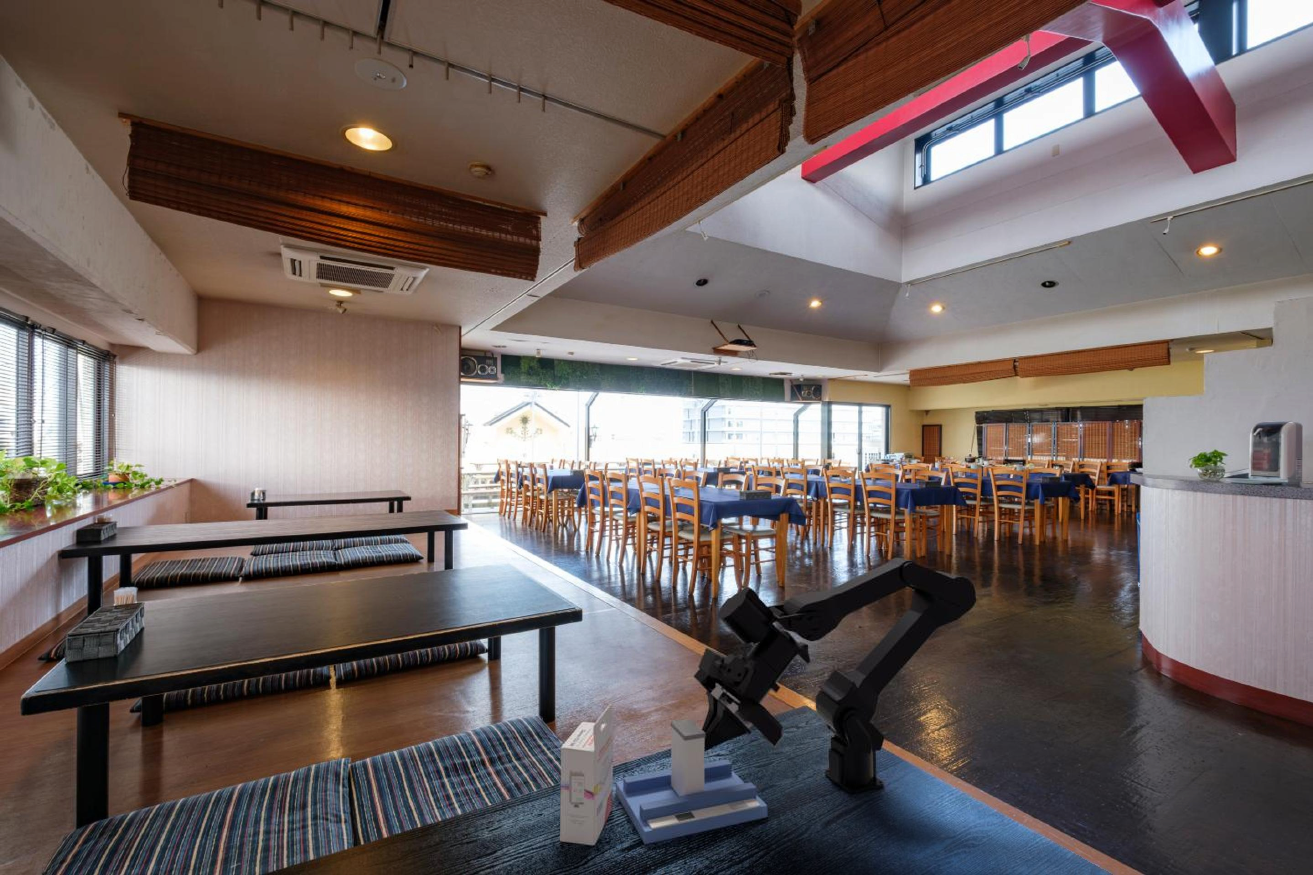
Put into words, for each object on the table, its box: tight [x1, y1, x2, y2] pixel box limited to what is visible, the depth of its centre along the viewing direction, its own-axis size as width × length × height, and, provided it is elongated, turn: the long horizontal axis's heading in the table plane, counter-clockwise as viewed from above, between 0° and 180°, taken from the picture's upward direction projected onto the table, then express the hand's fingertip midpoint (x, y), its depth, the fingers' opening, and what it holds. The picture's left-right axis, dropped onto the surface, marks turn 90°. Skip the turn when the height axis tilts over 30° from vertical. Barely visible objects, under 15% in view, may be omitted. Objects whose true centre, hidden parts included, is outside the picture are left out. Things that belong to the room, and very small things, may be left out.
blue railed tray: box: [615, 759, 768, 845], centre depth 82 cm, size 18×13×3 cm
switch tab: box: [670, 718, 705, 796], centre depth 82 cm, size 3×5×9 cm, turn 21°
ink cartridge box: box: [559, 703, 614, 846], centre depth 77 cm, size 9×5×15 cm, turn 168°
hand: (698, 749), depth 83 cm, fingers closed, pressing on switch tab
